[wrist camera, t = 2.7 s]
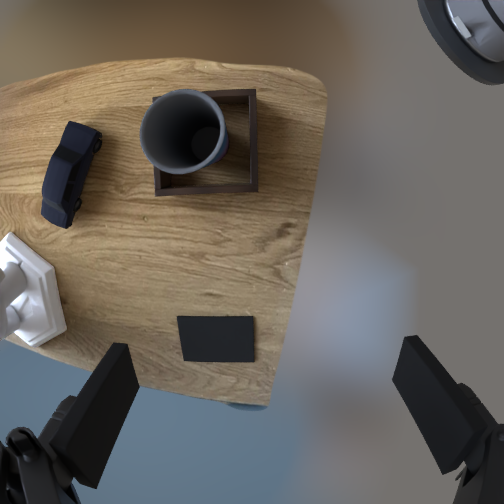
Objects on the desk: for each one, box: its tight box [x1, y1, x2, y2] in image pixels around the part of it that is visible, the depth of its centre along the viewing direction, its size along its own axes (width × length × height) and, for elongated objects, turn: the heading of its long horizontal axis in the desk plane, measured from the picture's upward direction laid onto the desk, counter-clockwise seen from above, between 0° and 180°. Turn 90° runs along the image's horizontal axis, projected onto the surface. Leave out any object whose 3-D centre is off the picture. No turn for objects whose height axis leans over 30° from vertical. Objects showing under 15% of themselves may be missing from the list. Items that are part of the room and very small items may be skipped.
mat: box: [177, 316, 254, 362], centre depth 43 cm, size 11×8×1 cm
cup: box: [140, 89, 229, 174], centre depth 28 cm, size 7×7×15 cm
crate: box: [153, 89, 258, 197], centre depth 33 cm, size 12×12×4 cm
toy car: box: [41, 121, 102, 229], centre depth 33 cm, size 6×15×5 cm, turn 154°
